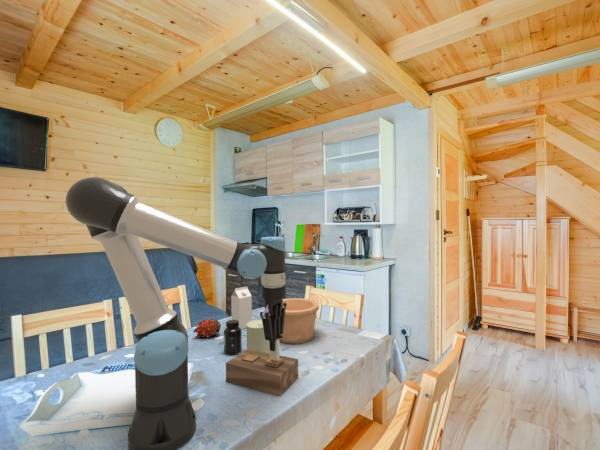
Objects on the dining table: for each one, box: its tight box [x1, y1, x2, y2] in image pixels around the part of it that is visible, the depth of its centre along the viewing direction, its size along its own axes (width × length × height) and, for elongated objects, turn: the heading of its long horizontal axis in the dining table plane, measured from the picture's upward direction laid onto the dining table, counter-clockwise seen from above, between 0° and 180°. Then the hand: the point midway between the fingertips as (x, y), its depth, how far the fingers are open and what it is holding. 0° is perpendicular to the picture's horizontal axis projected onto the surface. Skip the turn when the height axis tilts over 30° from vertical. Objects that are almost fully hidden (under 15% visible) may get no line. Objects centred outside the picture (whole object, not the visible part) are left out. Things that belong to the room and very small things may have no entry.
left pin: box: [242, 354, 259, 363], centre depth 103 cm, size 4×4×6 cm
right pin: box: [266, 358, 283, 368], centre depth 99 cm, size 4×4×6 cm
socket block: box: [225, 348, 299, 397], centre depth 101 cm, size 12×20×6 cm, turn 64°
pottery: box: [279, 297, 320, 345], centre depth 137 cm, size 22×22×14 cm
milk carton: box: [230, 286, 253, 330], centre depth 151 cm, size 7×7×19 cm
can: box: [246, 319, 270, 353], centre depth 121 cm, size 9×9×12 cm
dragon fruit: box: [193, 317, 222, 339], centre depth 138 cm, size 8×8×12 cm
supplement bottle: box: [223, 319, 243, 356], centre depth 122 cm, size 7×7×12 cm
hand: (274, 359), depth 99 cm, fingers closed
